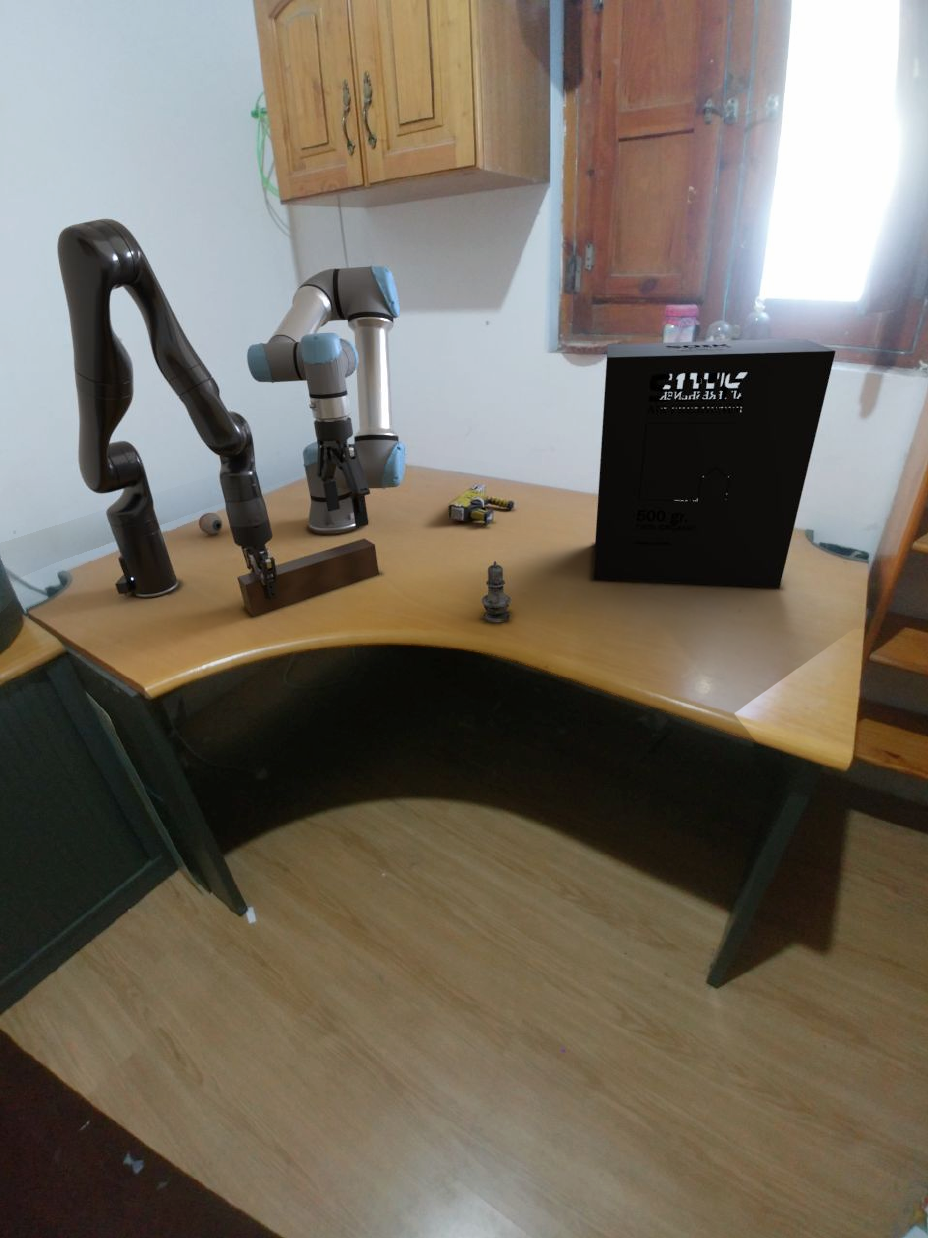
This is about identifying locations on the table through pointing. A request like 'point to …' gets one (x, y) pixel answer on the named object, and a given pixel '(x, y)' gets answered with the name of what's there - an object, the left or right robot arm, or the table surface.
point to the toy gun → (475, 505)
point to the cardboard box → (706, 459)
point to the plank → (311, 576)
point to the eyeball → (210, 523)
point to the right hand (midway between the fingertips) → (347, 517)
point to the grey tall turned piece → (496, 596)
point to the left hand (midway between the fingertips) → (266, 593)
